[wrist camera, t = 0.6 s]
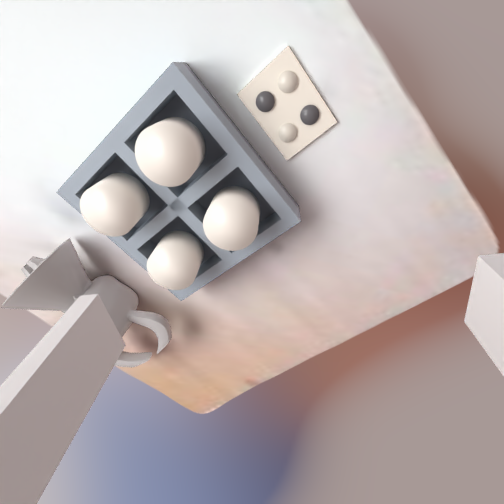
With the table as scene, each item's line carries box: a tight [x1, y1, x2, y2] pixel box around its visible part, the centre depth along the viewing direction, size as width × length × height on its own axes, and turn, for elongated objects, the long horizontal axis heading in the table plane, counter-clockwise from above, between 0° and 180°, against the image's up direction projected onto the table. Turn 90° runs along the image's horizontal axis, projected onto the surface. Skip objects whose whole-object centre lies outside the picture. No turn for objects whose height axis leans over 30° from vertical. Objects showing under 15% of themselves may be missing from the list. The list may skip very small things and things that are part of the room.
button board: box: [56, 62, 301, 301], centre depth 33 cm, size 18×18×4 cm
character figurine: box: [1, 239, 172, 367], centre depth 40 cm, size 13×9×20 cm
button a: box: [203, 186, 260, 251], centre depth 31 cm, size 5×5×4 cm
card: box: [237, 46, 337, 160], centre depth 30 cm, size 8×6×1 cm
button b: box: [147, 231, 204, 290], centre depth 34 cm, size 5×5×4 cm
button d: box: [80, 173, 150, 237], centre depth 31 cm, size 5×5×4 cm
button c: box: [135, 117, 206, 187], centre depth 28 cm, size 5×5×4 cm
